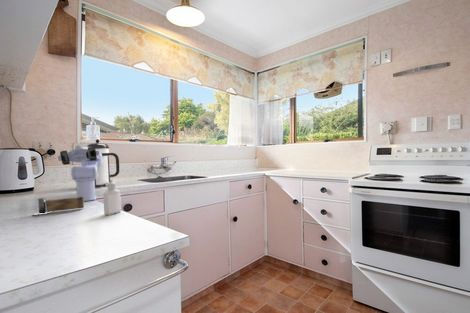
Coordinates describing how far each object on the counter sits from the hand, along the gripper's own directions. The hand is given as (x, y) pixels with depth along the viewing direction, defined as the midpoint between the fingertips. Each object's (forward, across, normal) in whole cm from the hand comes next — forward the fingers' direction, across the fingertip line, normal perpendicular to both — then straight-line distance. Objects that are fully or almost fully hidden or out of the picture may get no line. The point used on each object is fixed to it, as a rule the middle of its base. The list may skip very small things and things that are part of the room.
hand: (75, 156), depth 93 cm
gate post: (+2, -14, +19) cm, 23 cm away
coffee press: (-66, -1, +24) cm, 71 cm away
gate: (+1, -7, +19) cm, 20 cm away
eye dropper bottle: (+15, +10, +21) cm, 28 cm away
